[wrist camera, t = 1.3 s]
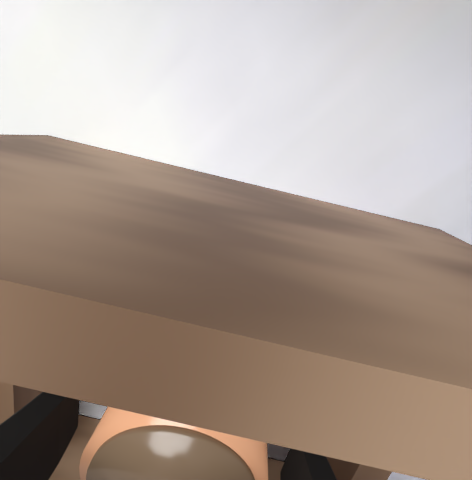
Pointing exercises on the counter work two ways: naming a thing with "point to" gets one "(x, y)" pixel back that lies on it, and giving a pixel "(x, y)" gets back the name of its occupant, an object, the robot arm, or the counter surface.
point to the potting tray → (232, 311)
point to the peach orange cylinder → (167, 451)
